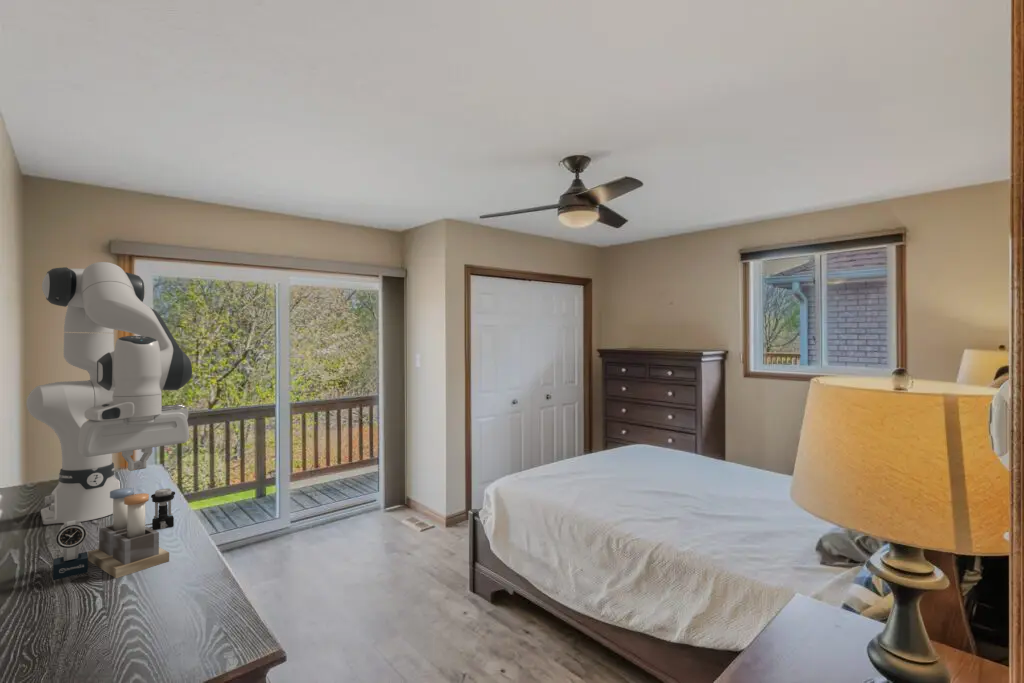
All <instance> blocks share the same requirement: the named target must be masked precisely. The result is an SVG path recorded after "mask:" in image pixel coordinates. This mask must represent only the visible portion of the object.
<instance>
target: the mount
mask: <svg viewBox="0 0 1024 683" xmlns="http://www.w3.org/2000/svg"><path fill="white" fill-rule="evenodd" d="M149 527H150V526H149ZM149 527H148V526H145V535H142V536H138V537H134V538H131V539H127V528H125V529H122V530H118V531H113V524H110V525H106V526H102V527H99V532H98V534H99V535H98V537H99V538H98V539H99V541H98V548H96V549H93V550H89V551H87V554H88V562H90V563H91V564H93V565H95V566H96V567H97V568H99V569H100V570H101V571H104V573H105V572H106V573H107V574H108V575H110V576H111V577H113V578H114V579H119V578H122V577H124V576H129V575H131V574H134V573H137V572H140V571H143V570H147V569H149V568H153V567H155V566H159V565H162V564H164V563H167V562H170V552H169V551H167V550H166V549H163V548H162V547H160V532H159V531H157V530H153V529H152V528H149Z"/></svg>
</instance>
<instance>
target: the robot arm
mask: <svg viewBox="0 0 1024 683" xmlns="http://www.w3.org/2000/svg"><path fill="white" fill-rule="evenodd" d="M41 290H42V292H43V295H44V297H45V300H46V301H47V302H49V303H50V304H51V305H55V306H58V307H59V306H60V307H64V308H65V307H66V308H67V309H66V312H65V316H64V317H65V318H64V326H63V332H64V333H63V358H64V360H65V361H66V362H67V364H70V366H73V367H75V368H77V369H81V370H83V371H86V372H88V374H89V380H73V381H71V380H69V381H56V382H51V383H46V384H41V385H37V386H35V387H34V388H33V389H32V390H31V391H30V393H29V394H28V396H27V397H26V408H27V411H28V413H29V414H30V416H32V417H33V418H34V419H35V420H37V421H40V422H41V423H44V424H46V426H48V427H49V428H50V429H52V430H53V431H54V433H55V434H56V435H57V437H58V440H59V443H60V450H61V468H60V470H59V473H58V484H57V485H56V487H55V488H54V489H53V490H52V492H51V494H50V495H46V496H44V505H49V506H47V507H45V508H41V510H40V516H41V521H42V524H43V525H53V524H64V522H69V521H74V520H78V522H87V521H92V520H97V519H100V518H101V519H102V518H104V517H107V516H110V515H113V499H112V498H110V492H111V491H113V490H116V489H121V482H120V480H119V479H117V478H116V477H114V475H115V463H114V462H113V454H117V453H118V454H119V453H121V457H122V458H123V459H124V460H125V461H126V463H127V470H128V471H130V472H134V471H138V470H143V469H146V468H147V461H148V460H149V459H150V456H151V455H152V454H153V448H157V447H158V448H159V447H166V446H172V445H179V444H185V443H187V442H188V440H189V439H190V429H189V423H188V419H189V409H188V408H187V406H185V405H182V404H172V405H170V404H168V405H167V404H165V405H162V404H163V403H162V400H163V398H162V393H163V392H162V391H178V390H180V389H182V388H183V387H184V386H186V385H187V384H188V382H190V380H192V376H193V375H192V374H193V366H192V362H191V359H190V358H189V356H188V355H187V354H186V353H185V352H184V350H182V348H181V347H180V345H179V344H178V343H177V340H176V339H175V337H174V336H173V334H172V333H171V331H170V329H169V328H168V326H167V325H166V323H165V321H164V320H163V318H162V317H161V315H160V314H159V312H158V311H157V310H155V309H153V308H152V307H149V305H147V304H145V303H144V300H145V296H146V293H147V292H146V290H147V289H146V286H145V282H144V280H143V279H142V278H141V276H140V275H138V274H134V273H130V272H127V271H125V270H124V269H123V268H122V267H121V266H119V265H117V264H115V263H113V262H107V261H98V262H94V263H91V264H89V265H87V266H86V267H85V268H68V267H67V266H66V267H55V268H51V269H49V270H48V271H46V274H45V276H44V278H43V280H42V283H41ZM115 330H116V331H119V332H120V331H121V332H126V333H131V334H134V335H127V336H121V337H118V338H117V339H116V341H115V333H114V331H115ZM138 450H140V452H141V453H143V454H142V455H141V457H140V459H139V460H135V461H134V459H133V458H132V457H131V456H134V451H138ZM50 504H51V505H50Z"/></svg>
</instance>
